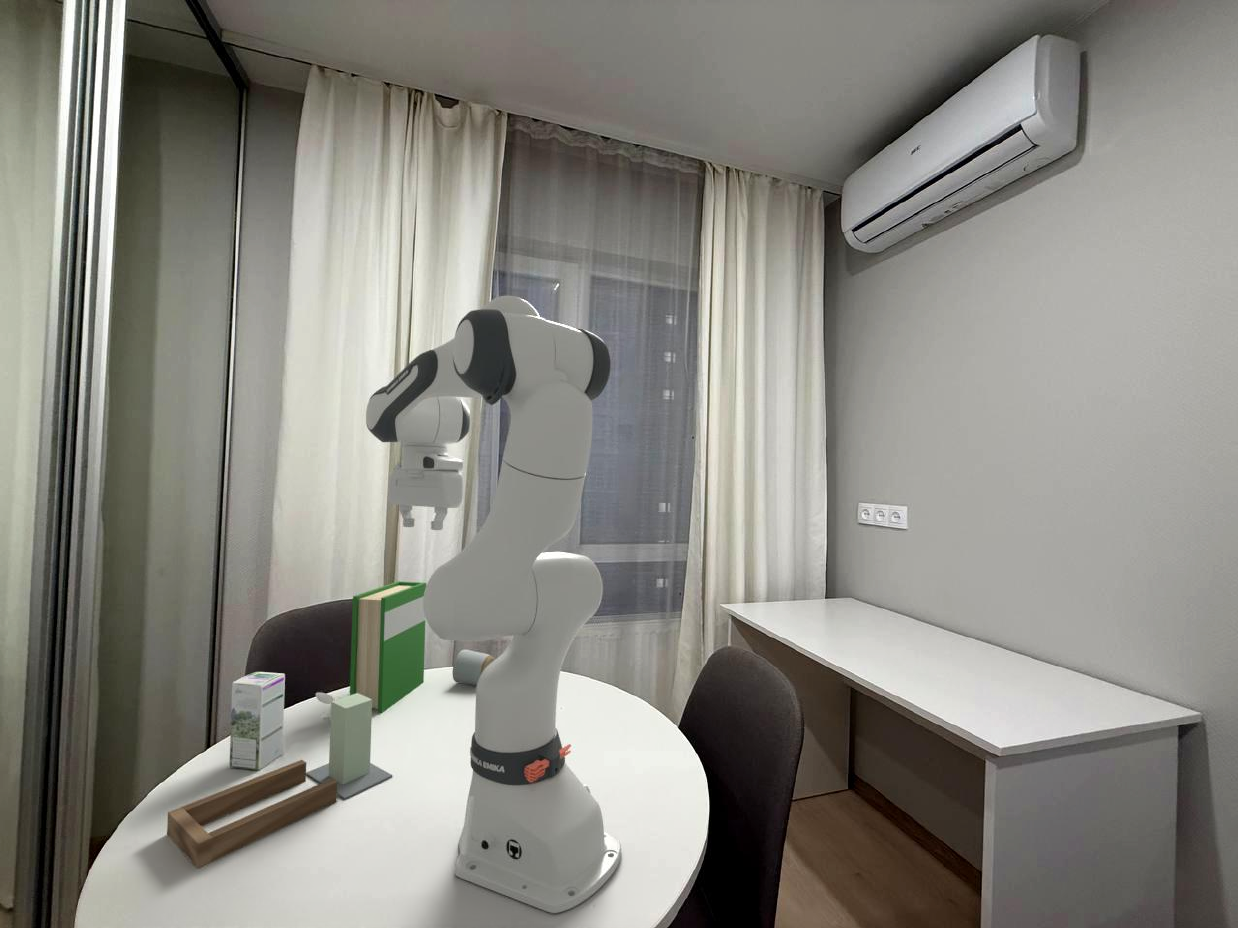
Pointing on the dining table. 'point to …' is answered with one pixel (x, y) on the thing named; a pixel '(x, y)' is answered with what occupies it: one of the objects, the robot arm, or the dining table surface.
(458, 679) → the ceramic mug
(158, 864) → the dining table surface
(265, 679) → the syrup box
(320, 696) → the rabbit figurine
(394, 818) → the dining table surface
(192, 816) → the frame
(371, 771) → the mat
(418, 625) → the hardback book
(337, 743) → the sage block
